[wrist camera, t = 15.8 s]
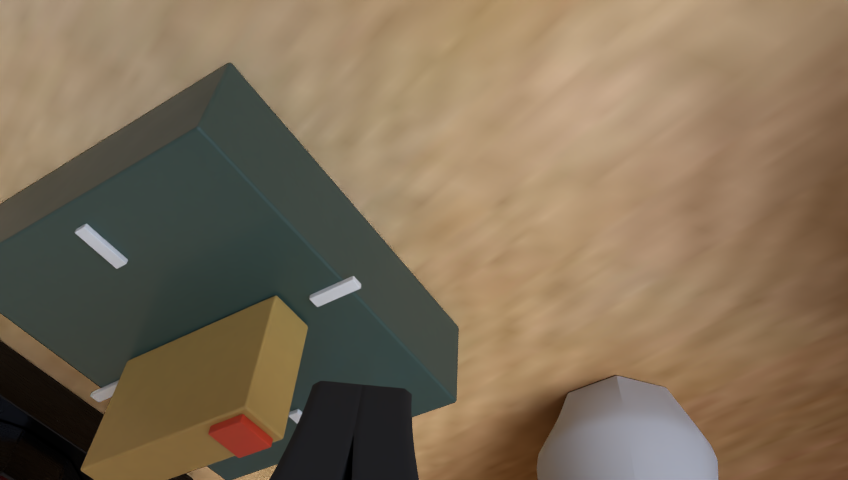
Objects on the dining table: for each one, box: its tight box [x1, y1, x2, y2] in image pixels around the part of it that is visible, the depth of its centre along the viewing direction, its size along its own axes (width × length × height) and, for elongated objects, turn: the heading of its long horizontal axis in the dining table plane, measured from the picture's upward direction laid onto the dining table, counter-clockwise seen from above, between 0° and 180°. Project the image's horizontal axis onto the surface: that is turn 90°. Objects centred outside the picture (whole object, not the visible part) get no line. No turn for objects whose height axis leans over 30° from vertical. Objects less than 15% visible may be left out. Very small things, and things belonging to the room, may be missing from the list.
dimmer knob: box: [81, 296, 308, 480], centre depth 20 cm, size 6×1×4 cm, turn 122°
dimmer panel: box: [0, 63, 459, 480], centre depth 23 cm, size 11×10×3 cm
